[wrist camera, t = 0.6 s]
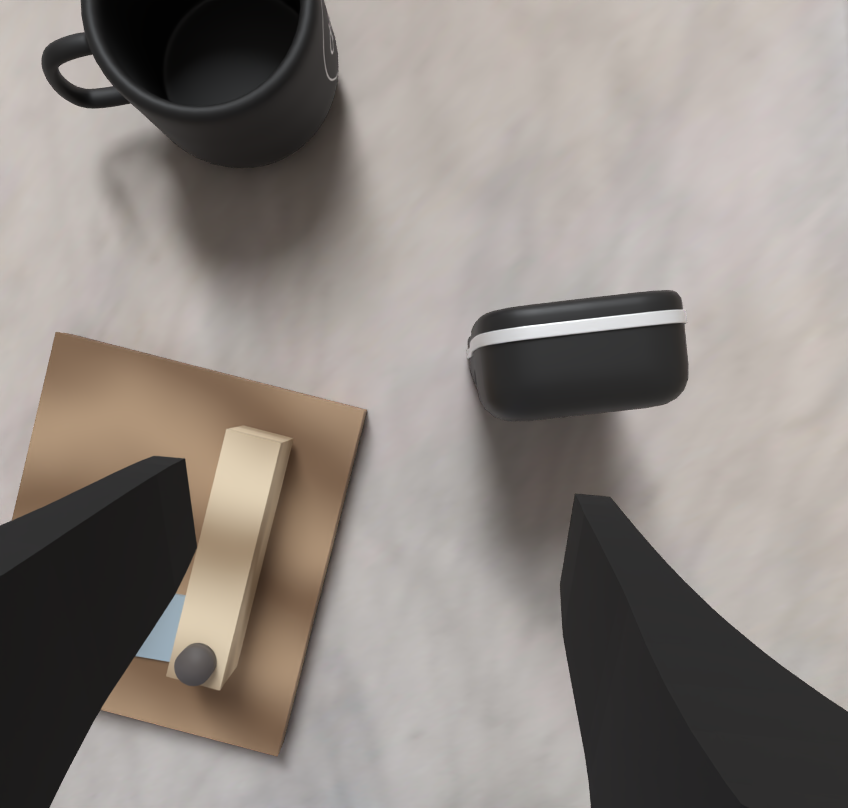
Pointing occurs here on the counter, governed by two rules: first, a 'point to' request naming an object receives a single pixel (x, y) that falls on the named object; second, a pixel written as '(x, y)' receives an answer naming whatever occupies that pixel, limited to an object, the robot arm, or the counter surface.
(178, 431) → the board
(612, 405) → the battery charger
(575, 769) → the counter surface
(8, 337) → the counter surface
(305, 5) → the mug
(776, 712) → the robot arm
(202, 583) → the leg
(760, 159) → the counter surface
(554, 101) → the counter surface
